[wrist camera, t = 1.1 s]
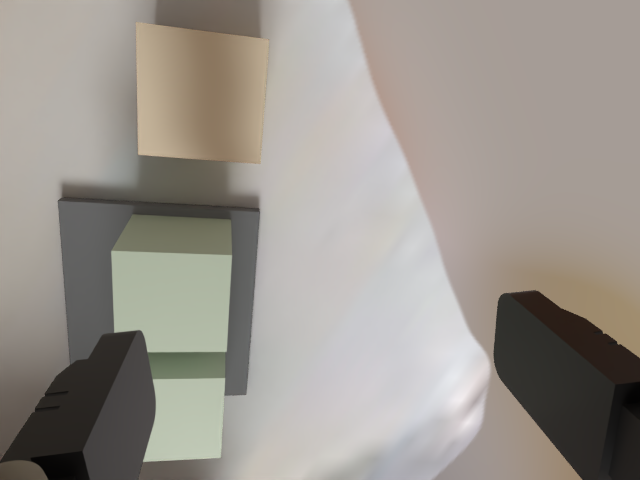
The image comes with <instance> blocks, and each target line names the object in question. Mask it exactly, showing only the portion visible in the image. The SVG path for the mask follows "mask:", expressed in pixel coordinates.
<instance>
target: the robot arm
mask: <svg viewBox="0 0 640 480" xmlns="http://www.w3.org/2000/svg"><path fill="white" fill-rule="evenodd" d="M497 308H498V309H497V318H496V331H495V343H494V363H495V367H496V370H497V373H498V375H499V377H500V379H501V381H502V382H503V383H504V384H505V386H506V387H507V388H508V389H509V390H510V392H511V393H512V394H513V395H514V397H515V398H516V399H517V400H518V401H519V403H520V404H521V405H522V406H523V408H524V409H525V410H526V411H527V412H528V414H529V415H530V416H531V417H532V419H533V420H534V421H535V422H536V423H537V425H538V426H539V427H540V428H541V430H542V431H543V432H544V433H545V434H546V436H547V437H548V438H549V439H550V441H551V442H552V443H553V444H554V445H555V447H556V448H557V449H558V450H559V451H560V453H561V454H562V455H563V456H564V457H565V459H566V460H567V461H568V462H569V464H570V465H571V466H572V467H573V469H574V470H575V471H576V472H577V474H578V475H579V476H580V477H581V478H582V480H640V358H639V357H637V356H636V355H635V354H633V353H632V352H631V351H629V350H628V349H626V348H625V347H623V346H622V345H621V344H620V345H618V344H617V341H615V340H614V339H613V338H611V337H610V336H609V335H607V334H603V332H602V330H600V329H599V328H598V327H596V326H595V325H593V324H592V323H591V322H589V321H588V320H587V319H585V318H583V317H580V316H578V315H576V314H573V313H571V312H569V311H566V310H564V309H561V308H560V307H559V306H557V305H556V304H555V303H553V302H552V301H551V300H549V299H548V298H547V297H545V296H544V295H543V294H541V293H540V292H538V291H535V290H533V291H523V292H515V293H504V294H502V295H501V296H500V298H499V301H498V307H497ZM155 414H156V397H155V389H154V384H153V379H152V373H151V368H150V363H149V357H148V352H147V347H146V341H145V337H144V335H143V333H142V331H141V330H135V331H126V332H116V333H106V334H103V335H102V336H101V337H100V339H99V341H98V342H97V344H96V346H95V348H94V349H93V351H92V353H91V354H90V356H89V358H88V359H82V360H76V361H75V362H74V363H72V364H71V365H70V366H69V367H67V368H66V369H65V370H64V371H62V372H61V373H60V374H58V375H57V376H56V377H55V379H54V380H53V382H52V384H51V385H50V387H49V388H48V390H47V391H46V393H45V397H42V399H41V400H40V402H39V403H38V405H37V406H36V408H35V412H33V413H32V414H31V415H30V417H29V418H28V420H27V421H26V423H25V425H24V426H23V428H22V429H21V431H20V432H19V434H18V435H17V437H16V438H15V440H14V441H13V443H12V444H11V446H10V447H9V449H8V450H7V452H6V453H5V455H4V456H3V458H2V459H1V461H0V480H138V477H139V474H140V470H141V467H142V463H143V460H144V456H145V453H146V449H147V446H148V442H149V439H150V435H151V432H152V428H153V425H154V421H155Z"/></svg>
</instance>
